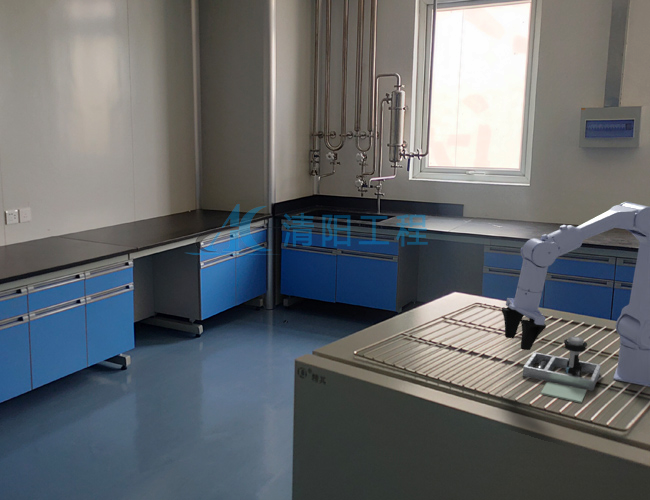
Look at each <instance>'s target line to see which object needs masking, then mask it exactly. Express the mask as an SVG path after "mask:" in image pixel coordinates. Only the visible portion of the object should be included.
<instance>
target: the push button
mask: <svg viewBox="0 0 650 500" xmlns="http://www.w3.org/2000/svg"><path fill="white" fill-rule="evenodd" d="M563 340H564V341H563V343H564V348H565V349H566V350H567V351H569V358H568V359H569V361H567V368H565V374H567V375H572V376H577V377H581V375H582V372H581V368H582V365H580V363H579V361H580V358H579V356H580V353H583V352H585V351H586V347H588V343H587V342H586V341H584V339H583V338H582V337H580V336H575V335H573V336H572V335H571V336H569V337H568V338H566V339H563Z"/></svg>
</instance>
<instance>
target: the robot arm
mask: <svg viewBox="0 0 650 500" xmlns="http://www.w3.org/2000/svg"><path fill="white" fill-rule="evenodd" d="M612 229H623V230H625V231H628V232H629V233H630V234H632V235H633V236H634V238H635V239H636V240H637V241H638V242H639V245H638V250H637V258H636V263H635V268H634V274H633V281H632V285H631V291H630V297H629V303H628V304H627V305H626V306H624V307H622V308H621V313H620V316H619V317H618V318H617V320H616V322H615V331H616V333H617V334H618V335H619V340H620V342H619V350H618V360H617V366H616V369H615V372H614V374H613V380H615V381H620V382H623V383H624V382H625V383H629V384H634V385H640V386H645V387H649V388H650V206H647V205H643V204H639V203H634V202H631V201H624V202H622V203H620V204H617V205H613V206H612V207H611V208H610V209H608V210H607V211H605V212H602V213H601V214H599V215H597V216H595V217H593V218H591V219H589V220H587V221H586V222H584V223H583V222H582V224H580V225H578V226H574V225H571V224H570V225H568V224H567V225H566V224H562V225H560V226H559V229H558V230H555V231H552V232H550V233H548V234H546V233H544V234H542V235H541V237H540V239H539V238H530V239H528V240H526V242H524V244H523V246H522V247H521V248H520V256H521V258H522V263H521V269H520V273H519V279H518V281H517V282H518V283H517V286H516V292H515V296H514V298H511V297H507V298H506V302H505V306H507V307H502V308H501V313H502V315H503V321H504V335H505V338H507V339H515V337H516V334H517V332H518V329H519V326H520V325H521V341H520V349H521V350H524V351H530V350H531V348H532V347H533V345H534V343H535V341H536V340H537V338H538V337H539V336H540V335H541V333H542V332H543V331H545V329H546V328H547V324H545V323H546V316H544V315H543V314H542V312H541V311H540V309H539V307H540V303H541V298H542V295H543V294H542V293H543V290H544V286H545V283H546V277H547V274H548V273H547V272H548V268H549V266H552V265H553V264H554V263H555V261H556V259H557V258H558V257H560V256H564V255H565V254H567V253H570V252H571V251H575V250H577V249H578V248H580V247H581V246H582V244H583V241H584V240H587V239H589V238H591V237H594V236H597V235H599V234H602V233H605V232H607V231H610V230H612ZM523 317H526V318H528V319H524V318H523Z"/></svg>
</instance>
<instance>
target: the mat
mask: <svg viewBox="0 0 650 500" xmlns="http://www.w3.org/2000/svg"><path fill="white" fill-rule="evenodd" d="M587 391H588V390H586V389H581V388H576V387H572V386H567V385H562V384H558V383H553V382H548V381H546V383H545V384H544V386H543V388H542V390H541V391H540V395H544V396H548V397H551V398H552V397H553V398H557V399H561V400H567V401H570V402H575V403H579V404H582V402H583V400H584V399H585V396H586V394H587V393H588V392H587Z"/></svg>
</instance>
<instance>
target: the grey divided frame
mask: <svg viewBox="0 0 650 500" xmlns="http://www.w3.org/2000/svg"><path fill="white" fill-rule="evenodd" d="M541 361H546V362H547V365H546V367H545V368H544V370H543V369H538V368H537V367H535V365H536V363H537V364H540V363H541ZM567 361H569V358H568V357H567V358H566V357H562V356H556V355H551V354H547V353H542V352H541V353H540V352H534V351H533V353H532V354H531V356H530V357H529V358H528V360H527V361H526V362H525V364H524V365H523V369H522V377H525V378H531V379H535V380H540V381H544V382H551V383H556V384H560V385H565V386H570V387H574V388H579V389H584V390H587V391H591V392H593V391H594V390H595V386H596V384H597V381H598V379H599V377H600V374H601V366H602V365H601V364H598V363H594V362H588V361H582V360H579V363H580V365H582V368H581V373H587V374H592V375H591V377H590V378H586V377H582V376H579V377H577V376H572V375H567V374H566V373H561V372H557V371H553V370H554V368H555V367H558V368H562V369H566V368H567Z"/></svg>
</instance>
